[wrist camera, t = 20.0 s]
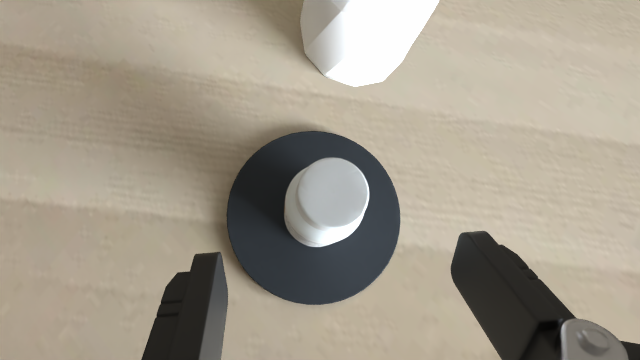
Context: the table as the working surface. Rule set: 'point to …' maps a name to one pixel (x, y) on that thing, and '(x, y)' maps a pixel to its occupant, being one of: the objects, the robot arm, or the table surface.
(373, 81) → the vase
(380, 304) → the table surface
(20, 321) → the table surface
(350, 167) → the pill bottle
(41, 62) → the table surface
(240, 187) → the rubber mat
